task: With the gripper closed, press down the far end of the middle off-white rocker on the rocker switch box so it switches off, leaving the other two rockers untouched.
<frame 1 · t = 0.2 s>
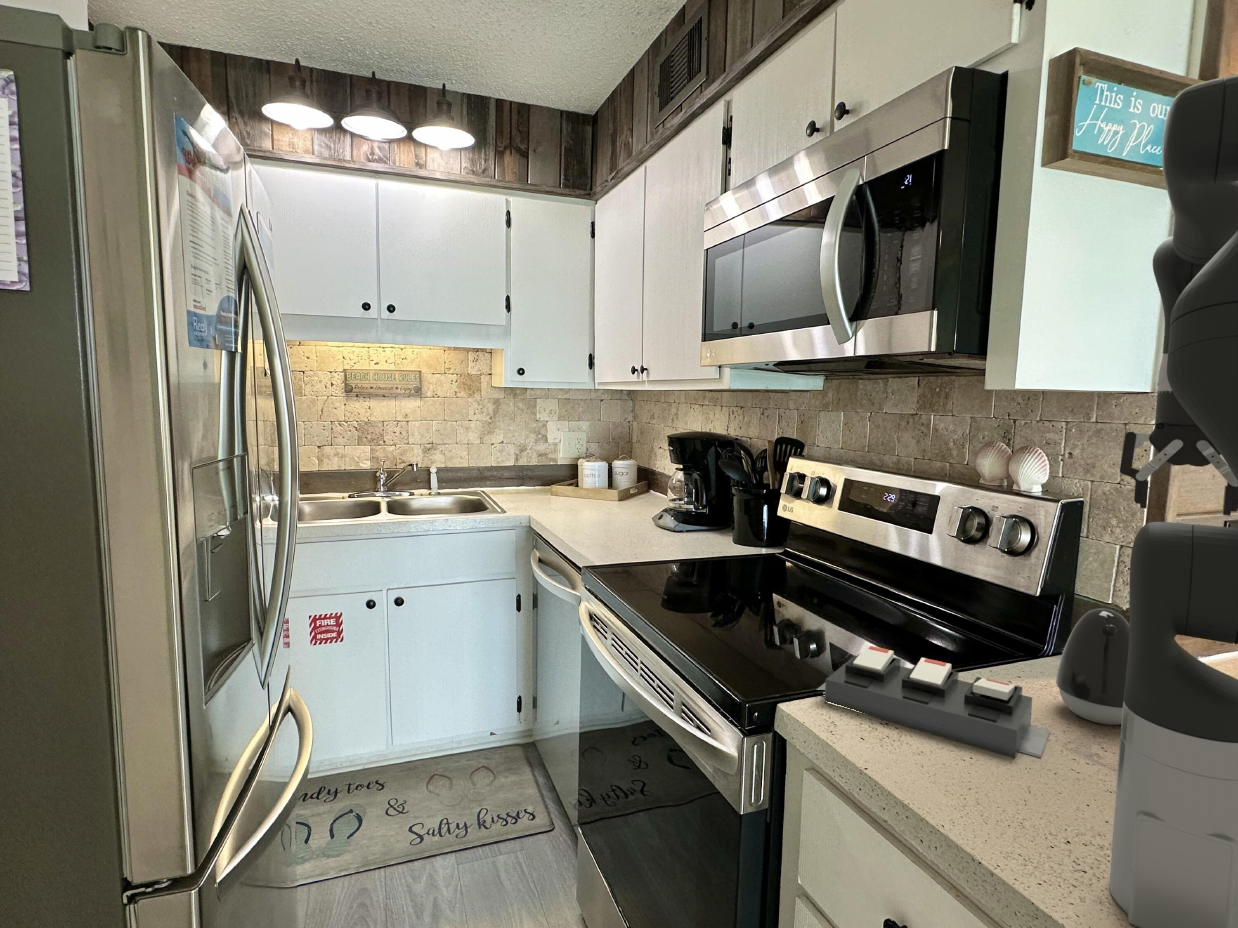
hand: (1183, 511, 91), 29 cm above the counter, tool pointing down, fingers open, 8 cm apart
pump dispenser: (1098, 717, 94), on the counter
middle rocker: (930, 673, 97), point 5 cm above the counter, hinge at -10.0°
rocker switch box: (924, 712, 95), on the counter
rocker 2: (994, 688, 92), point 5 cm above the counter, hinge at 10.0°
rocker 1: (873, 659, 102), point 5 cm above the counter, hinge at -10.0°
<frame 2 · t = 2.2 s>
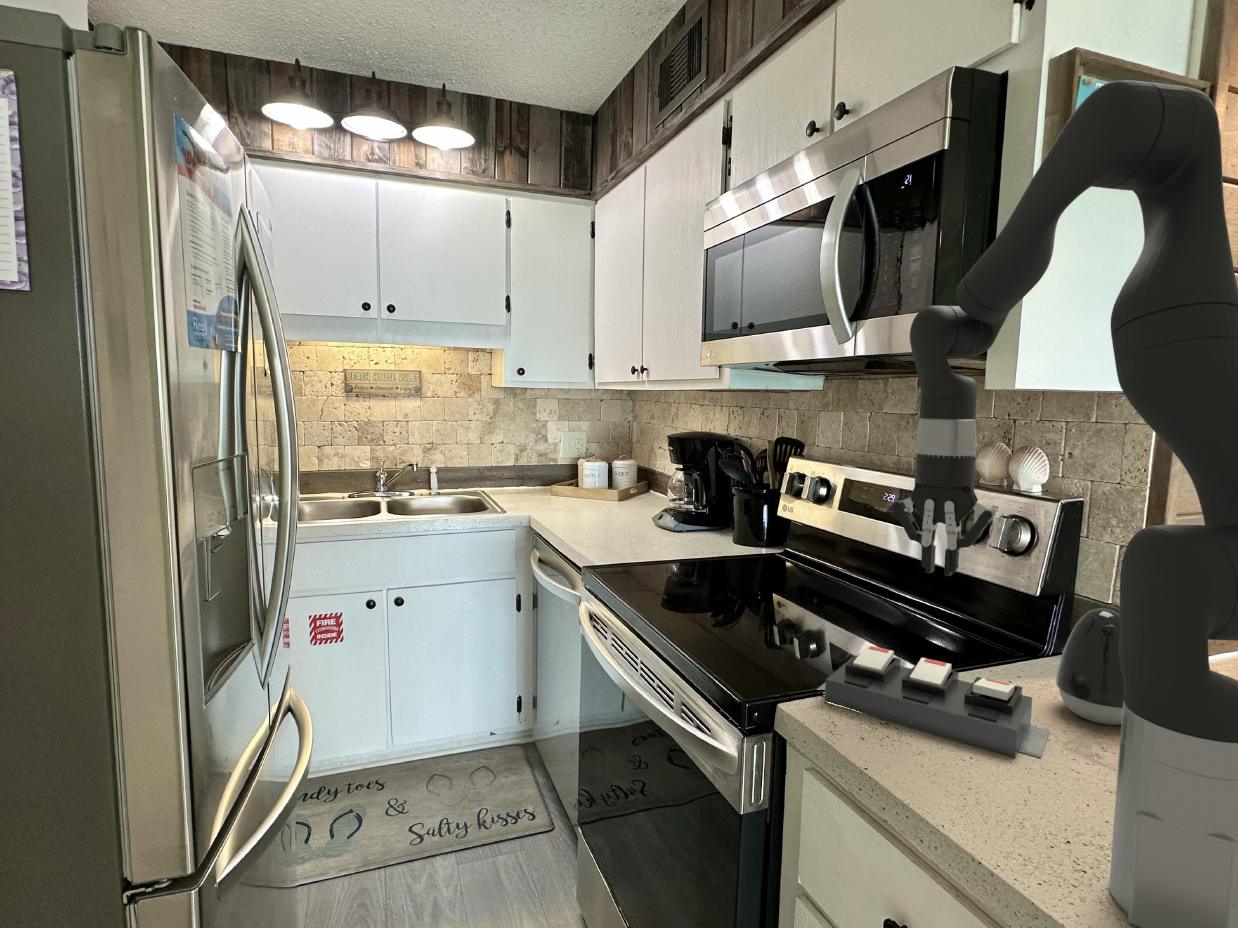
hand: (939, 572, 97), 19 cm above the counter, tool pointing down, fingers closed
nothing on the counter moved.
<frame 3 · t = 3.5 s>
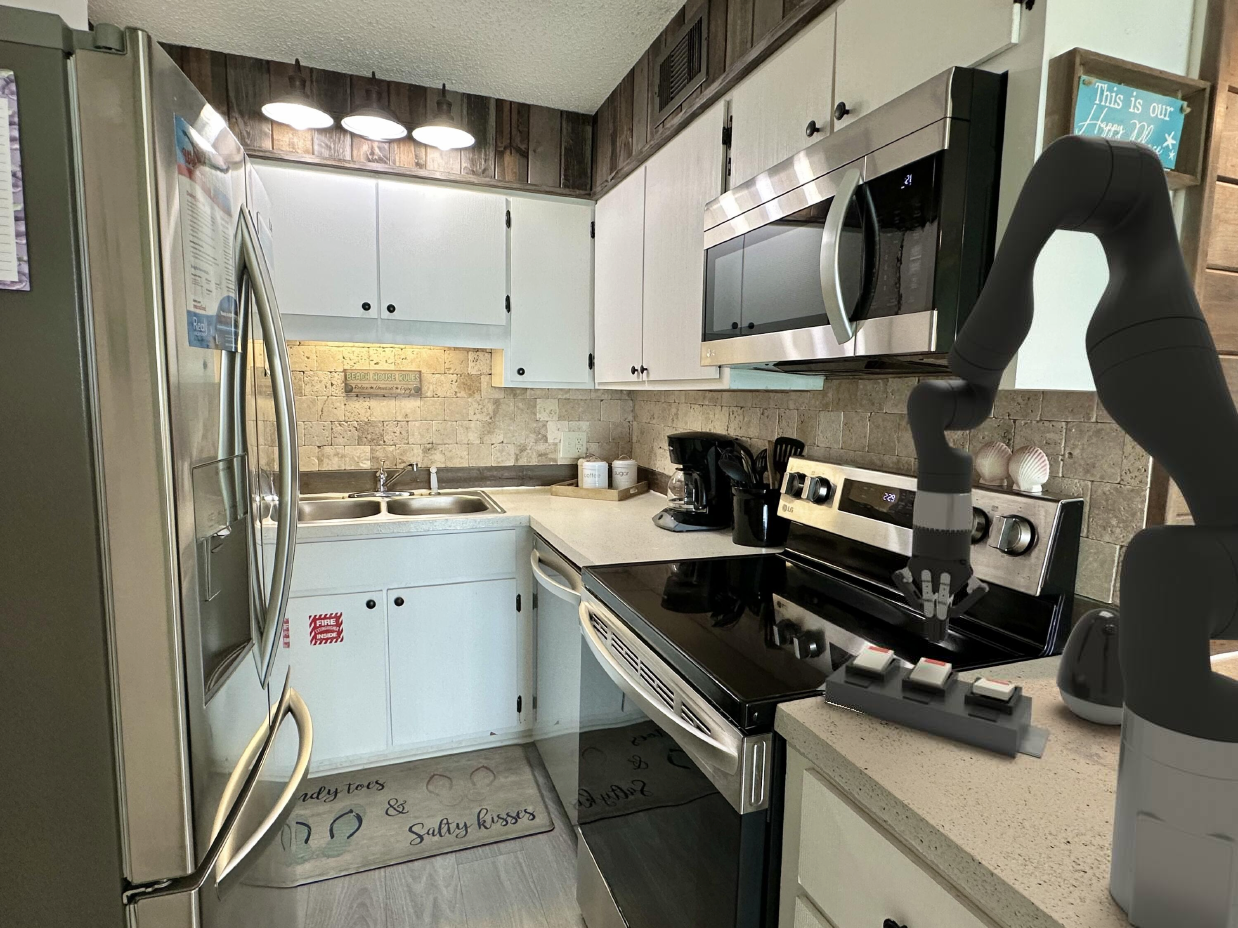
hand: (935, 641, 98), 9 cm above the counter, tool pointing down, fingers closed
nothing on the counter moved.
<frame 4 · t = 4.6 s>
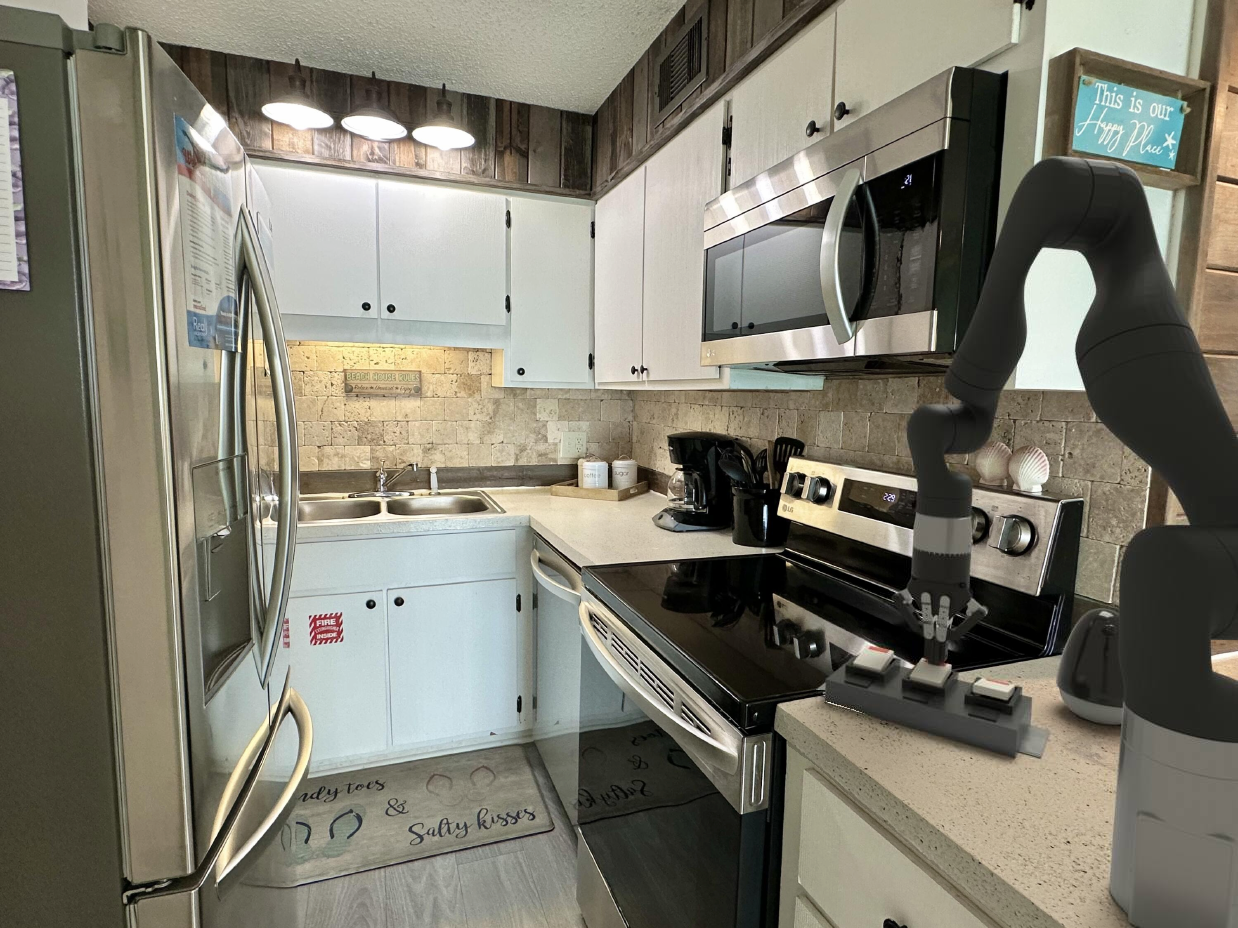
hand: (935, 663, 98), 6 cm above the counter, tool pointing down, fingers closed
middle rocker: (930, 673, 97), point 5 cm above the counter, hinge at -7.7°, touching gripper
everything else where it was.
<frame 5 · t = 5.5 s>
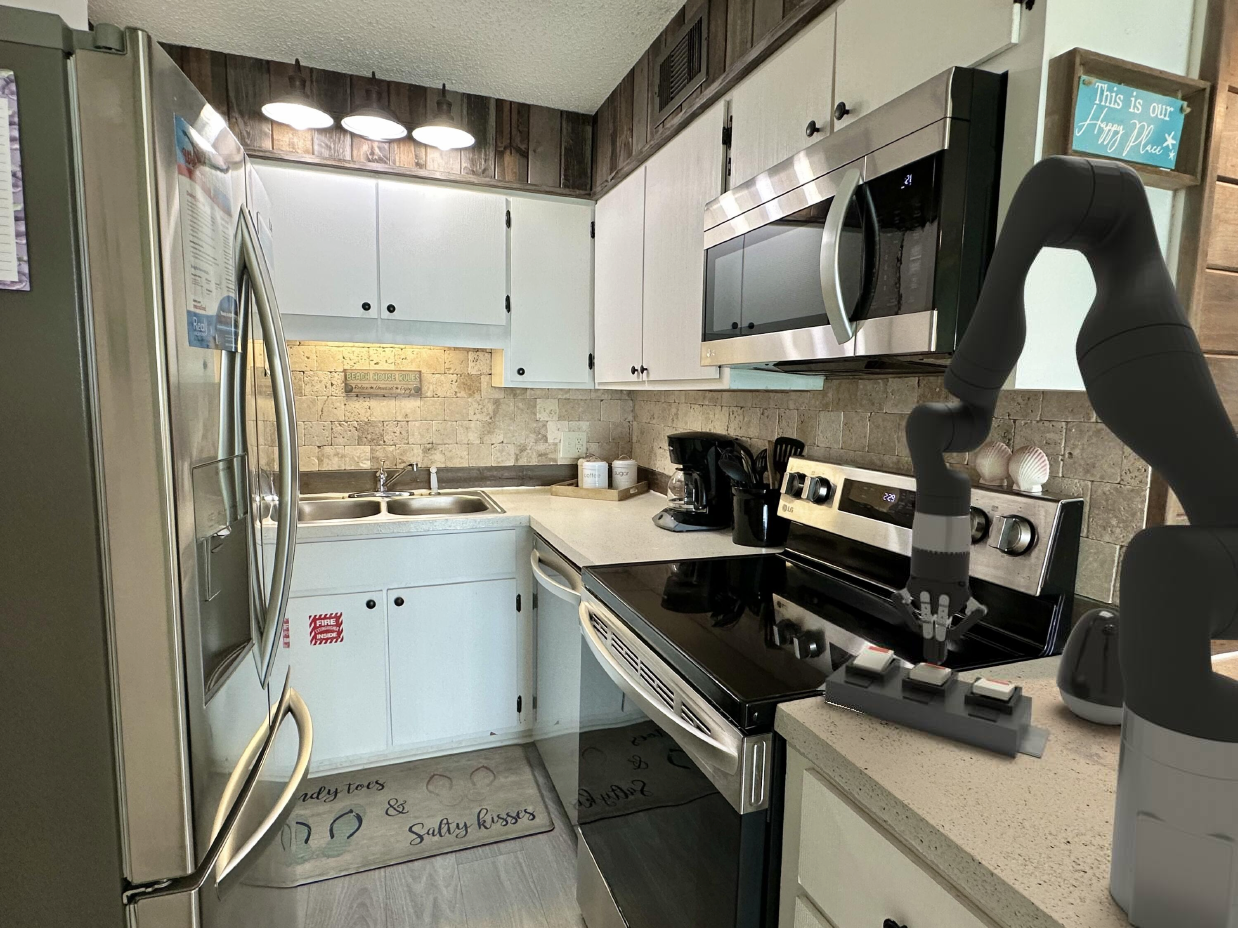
hand: (934, 662, 98), 6 cm above the counter, tool pointing down, fingers closed
middle rocker: (930, 673, 97), point 5 cm above the counter, hinge at 6.3°
everything else where it was.
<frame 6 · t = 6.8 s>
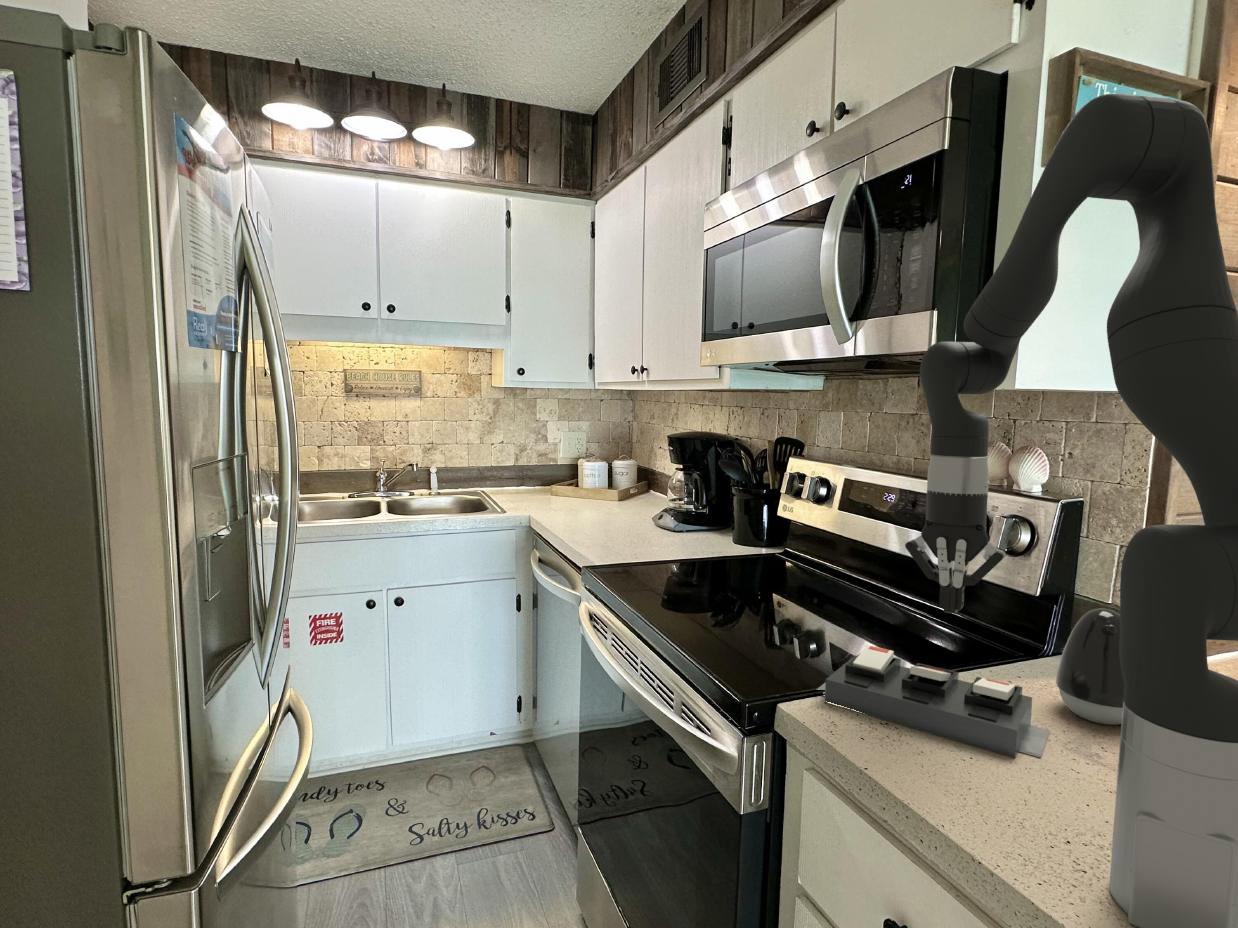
hand: (951, 611, 95), 14 cm above the counter, tool pointing down, fingers closed
middle rocker: (930, 673, 97), point 5 cm above the counter, hinge at 17.7°
everything else where it was.
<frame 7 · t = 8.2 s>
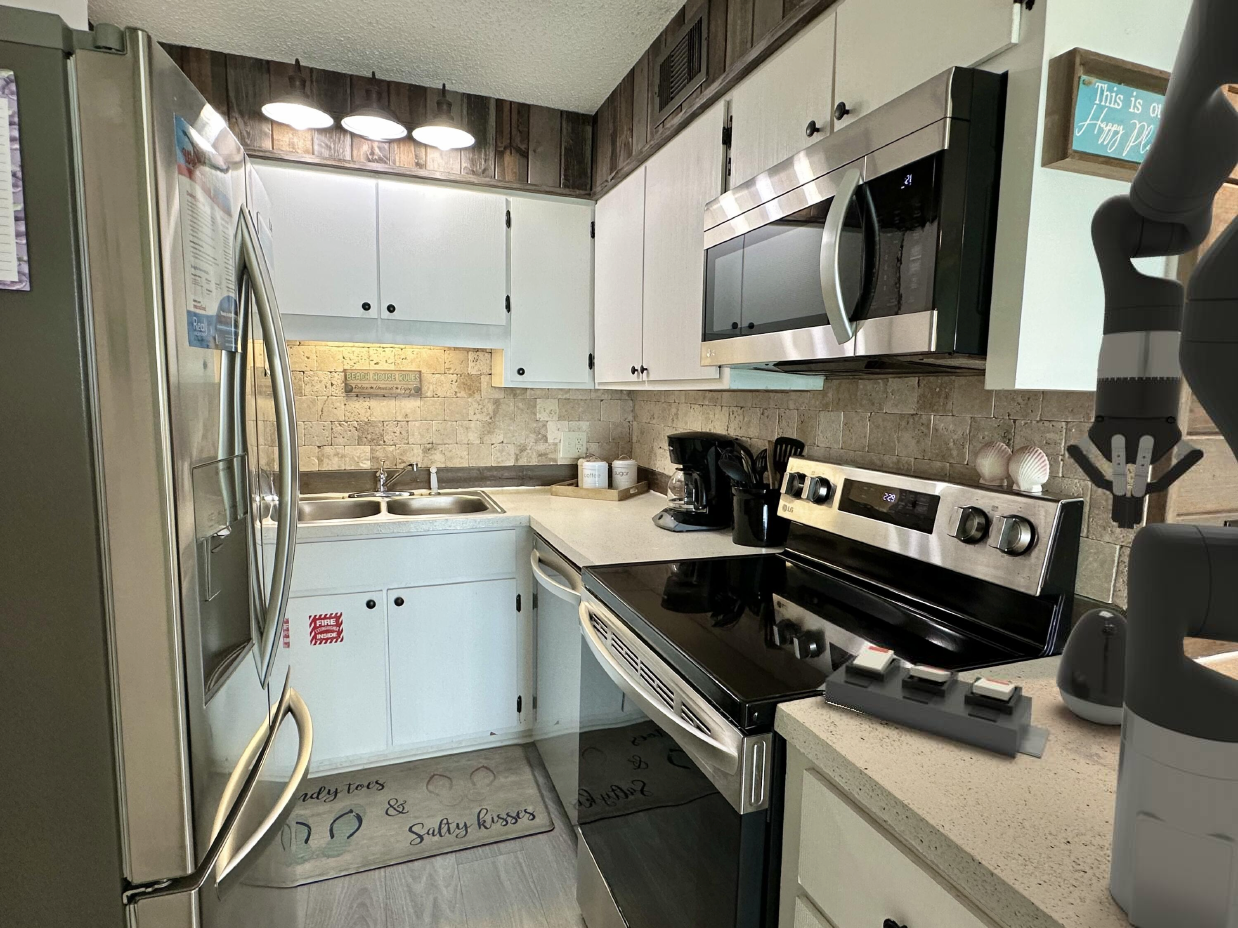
hand: (1126, 527, 78), 29 cm above the counter, tool pointing down, fingers closed
middle rocker: (930, 673, 97), point 5 cm above the counter, hinge at 15.8°
everything else where it was.
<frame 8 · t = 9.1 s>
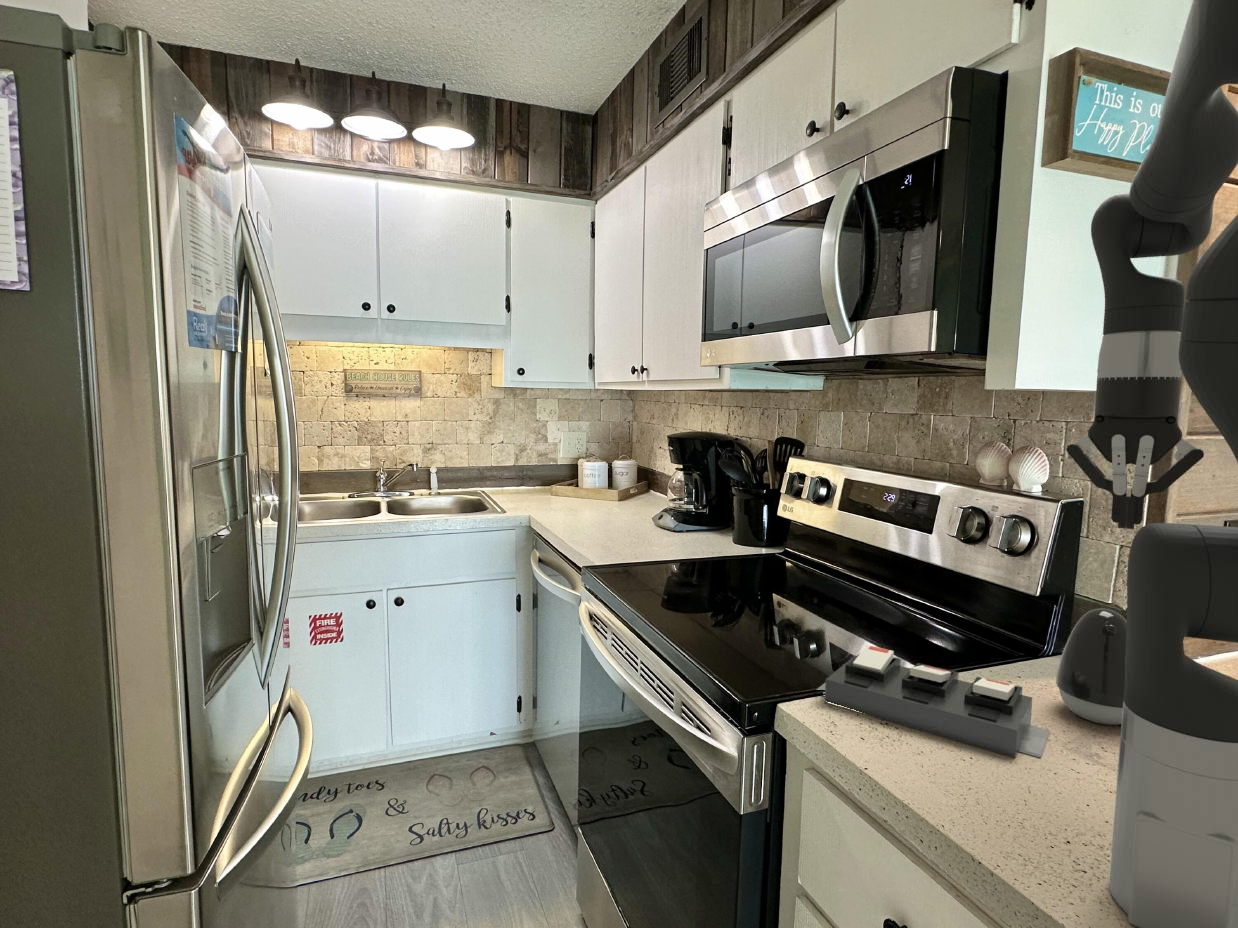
hand: (1126, 527, 78), 29 cm above the counter, tool pointing down, fingers closed
middle rocker: (930, 673, 97), point 5 cm above the counter, hinge at 13.8°
everything else where it was.
at the end: middle rocker at +13° (first picture: -10°); rocker 1 at -10° (first picture: -10°); rocker 2 at +10° (first picture: +10°) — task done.
